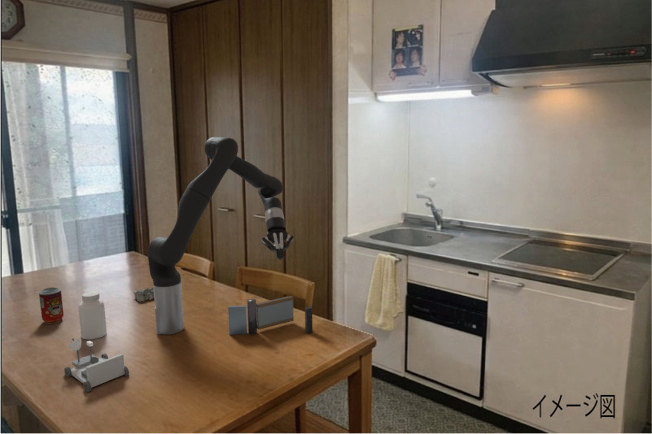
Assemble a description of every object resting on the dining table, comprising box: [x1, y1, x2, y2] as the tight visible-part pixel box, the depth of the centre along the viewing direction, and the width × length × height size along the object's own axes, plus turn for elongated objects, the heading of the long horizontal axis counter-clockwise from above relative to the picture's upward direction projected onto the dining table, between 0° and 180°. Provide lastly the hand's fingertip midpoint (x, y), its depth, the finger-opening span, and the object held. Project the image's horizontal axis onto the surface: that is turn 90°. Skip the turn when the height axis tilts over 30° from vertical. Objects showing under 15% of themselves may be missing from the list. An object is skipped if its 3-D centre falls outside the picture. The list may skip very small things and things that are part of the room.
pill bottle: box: [78, 291, 107, 340], centre depth 162 cm, size 8×8×15 cm
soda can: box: [38, 286, 64, 325], centre depth 175 cm, size 7×7×12 cm
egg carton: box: [133, 287, 154, 302], centre depth 200 cm, size 11×8×4 cm
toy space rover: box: [64, 338, 130, 393], centre depth 137 cm, size 18×10×12 cm
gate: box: [256, 295, 294, 331], centre depth 168 cm, size 14×1×9 cm, turn 124°
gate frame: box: [227, 298, 314, 336], centre depth 164 cm, size 29×3×12 cm, turn 92°
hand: (280, 258), depth 181 cm, fingers closed
